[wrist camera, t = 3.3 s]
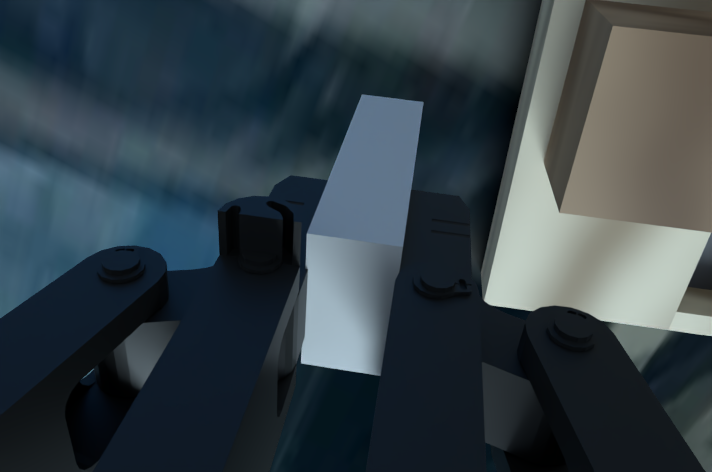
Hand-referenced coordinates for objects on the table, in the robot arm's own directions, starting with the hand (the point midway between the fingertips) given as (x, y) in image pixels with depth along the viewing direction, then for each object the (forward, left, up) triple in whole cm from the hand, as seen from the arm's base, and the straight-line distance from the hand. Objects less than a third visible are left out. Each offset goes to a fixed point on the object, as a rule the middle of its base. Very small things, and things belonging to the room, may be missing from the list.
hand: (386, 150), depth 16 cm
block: (+9, 0, -8) cm, 12 cm away
